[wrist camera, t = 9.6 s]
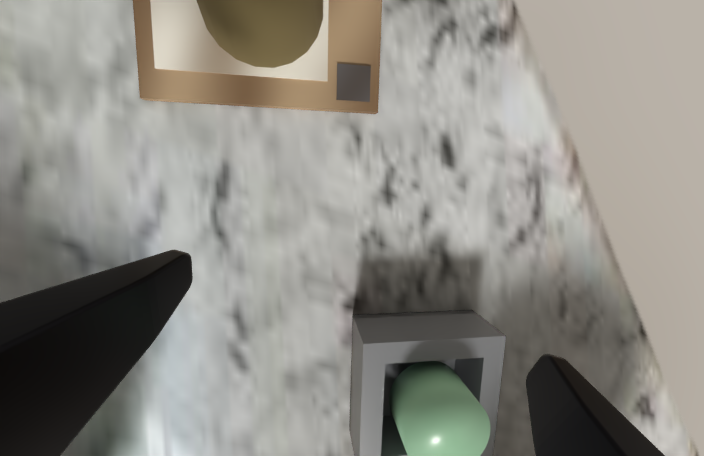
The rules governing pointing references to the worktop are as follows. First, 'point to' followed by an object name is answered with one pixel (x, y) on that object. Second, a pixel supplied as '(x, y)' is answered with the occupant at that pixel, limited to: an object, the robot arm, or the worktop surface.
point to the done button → (437, 412)
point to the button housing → (412, 347)
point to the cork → (263, 28)
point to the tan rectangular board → (260, 82)
